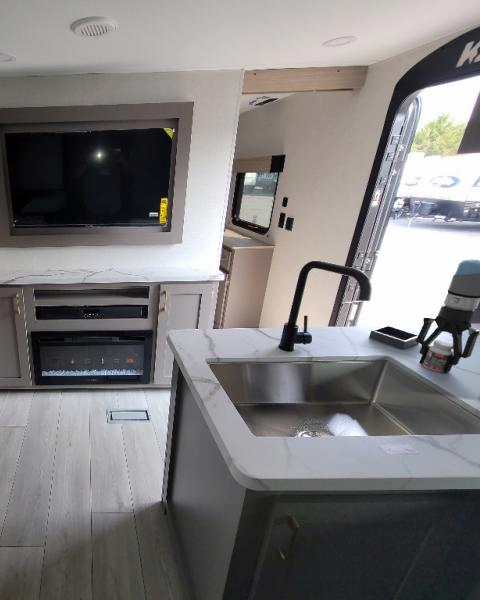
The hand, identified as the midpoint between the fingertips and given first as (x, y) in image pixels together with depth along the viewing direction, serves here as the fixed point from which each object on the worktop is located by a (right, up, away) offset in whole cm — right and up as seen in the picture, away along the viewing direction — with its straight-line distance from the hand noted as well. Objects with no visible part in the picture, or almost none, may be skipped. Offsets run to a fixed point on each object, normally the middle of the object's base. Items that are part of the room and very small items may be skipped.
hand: (434, 367), depth 115 cm
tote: (+4, +7, +19) cm, 21 cm away
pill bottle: (0, 0, 0) cm, 1 cm away
